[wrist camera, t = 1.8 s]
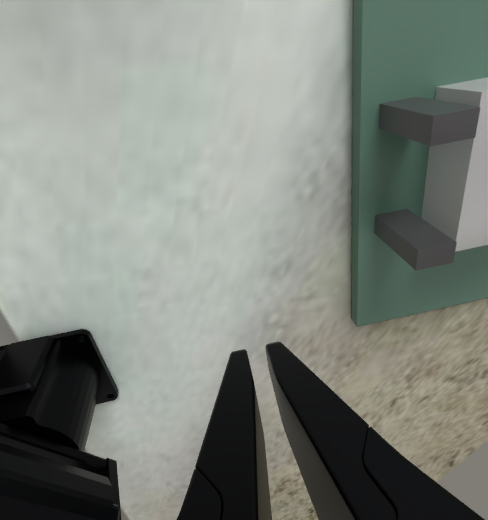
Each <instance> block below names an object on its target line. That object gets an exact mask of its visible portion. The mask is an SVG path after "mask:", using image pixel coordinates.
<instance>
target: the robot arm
mask: <svg viewBox="0 0 488 520" xmlns="http://www.w3.org/2000/svg"><path fill="white" fill-rule="evenodd" d="M80 336H83V337H85V338H80ZM266 355H267V361H268V367H269V372H270V376H271V380H272V384H273V388H274V392H275V396H276V400H277V404H278V408H279V412H280V416H281V420H282V423H283V427H284V430H285V432H286V435H287V438H288V441H289V443H290V446H291V448H292V451H293V454H294V456H295V459H296V461H297V464H298V467H299V469H300V472H301V475H302V477H303V480H304V482H305V485H306V488H307V490H308V493H309V495H310V498H311V501H312V503H313V506H314V508H315V511H316V514H317V516H318V519H319V520H485V519H483V518H482V517H481V516H479V515H478V514H477V513H475V512H474V511H473V510H471V509H470V508H469V507H468V506H466V505H465V504H464V503H462V502H461V501H460V500H458V499H457V498H456V497H455V496H453V495H452V494H451V493H449V492H448V491H447V490H445V489H444V488H443V487H441V486H440V485H439V484H438V483H436V482H435V481H434V480H433V479H431V478H430V477H429V476H427V475H426V474H425V473H423V472H422V471H421V470H420V469H418V468H417V467H416V466H415V465H413V464H412V463H411V462H410V461H408V460H407V459H406V458H405V457H404V456H402V455H401V454H400V453H399V452H398V451H397V450H396V449H394V448H393V447H392V446H391V445H390V444H389V443H388V442H387V441H385V440H384V439H383V438H382V437H381V436H380V435H379V434H378V433H377V432H376V431H375V430H374V429H373V428H372V427H369V425H368V424H367V423H366V422H365V421H364V420H363V419H362V418H361V417H360V416H359V415H358V414H357V413H355V412H354V411H353V410H352V409H351V408H350V407H349V406H348V405H347V404H346V403H345V402H344V401H343V400H342V399H341V398H340V397H338V396H337V395H336V394H335V393H334V392H333V391H332V390H331V389H330V388H329V387H328V386H327V385H326V384H325V383H324V382H323V381H322V380H320V379H319V378H318V377H317V376H316V375H315V374H314V373H313V372H312V371H311V370H310V369H309V368H308V367H307V366H306V365H305V364H303V363H302V362H301V361H300V360H299V359H298V358H297V357H296V356H295V355H294V354H293V353H292V352H291V351H290V350H289V349H288V348H286V347H285V346H284V345H283V344H282V343H281V342H274V343H270V344H267V345H266ZM117 397H118V389H117V387H116V384H115V382H114V380H113V378H112V376H111V374H110V372H109V370H108V368H107V366H106V364H105V362H104V360H103V358H102V356H101V354H100V351H99V349H98V347H97V345H96V343H95V341H94V339H93V337H92V335H91V333H90V332H89V331H87V330H84V329H80V330H75V331H71V332H66V333H61V334H56V335H52V336H45V337H40V338H35V339H31V340H26V341H21V342H16V343H12V344H10V345H5V346H1V347H0V520H121V511H120V499H119V487H118V475H117V463H116V461H115V460H112V459H109V458H107V459H103V458H101V457H98V456H95V455H92V454H89V453H86V452H84V449H85V445H86V441H87V437H88V433H89V429H90V425H91V421H92V417H93V413H94V409H95V405H96V404H100V403H104V402H108V401H113V400H115V399H116V398H117ZM195 467H196V469H195V470H194V472H193V475H192V478H191V482H190V485H189V488H188V491H187V494H186V496H185V499H184V502H183V505H182V508H181V511H180V513H179V516H178V518H177V520H272V515H271V504H270V494H269V483H268V473H267V462H266V452H265V441H264V433H263V427H262V422H261V417H260V412H259V407H258V401H257V396H256V391H255V386H254V381H253V376H252V372H251V368H250V363H249V359H248V355H247V351H246V350H245V349H243V350H238V351H234V352H232V353H231V354H230V357H229V360H228V364H227V367H226V370H225V373H224V376H223V380H222V383H221V386H220V389H219V392H218V396H217V399H216V402H215V405H214V408H213V412H212V415H211V418H210V421H209V424H208V428H207V431H206V434H205V437H204V440H203V444H202V447H201V450H200V453H199V456H198V460H197V463H196V466H195Z"/></svg>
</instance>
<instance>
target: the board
mask: <svg viewBox="0 0 488 520" xmlns="http://www.w3.org/2000/svg"><path fill="white" fill-rule="evenodd" d="M484 298H488V0H353V134H352V286H351V318H352V320H353V321H354V323H355V325H356V326H357V327H359V326H363V325H368V324H372V323H377V322H381V321H386V320H390V319H395V318H399V317H404V316H408V315H413V314H417V313H422V312H426V311H431V310H435V309H439V308H444V307H448V306H453V305H457V304H462V303H466V302H471V301H475V300H480V299H484Z"/></svg>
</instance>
